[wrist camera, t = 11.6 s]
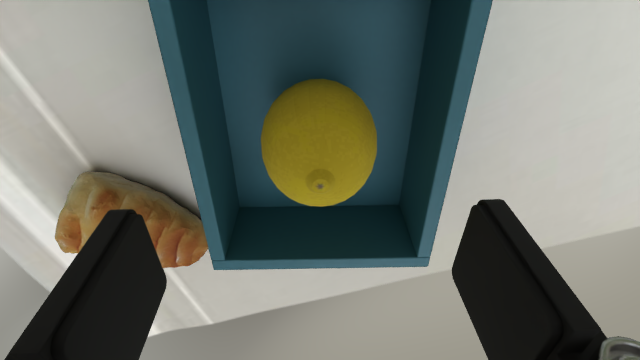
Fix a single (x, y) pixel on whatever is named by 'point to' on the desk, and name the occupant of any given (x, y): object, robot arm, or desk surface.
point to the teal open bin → (332, 64)
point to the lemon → (319, 142)
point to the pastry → (155, 207)
